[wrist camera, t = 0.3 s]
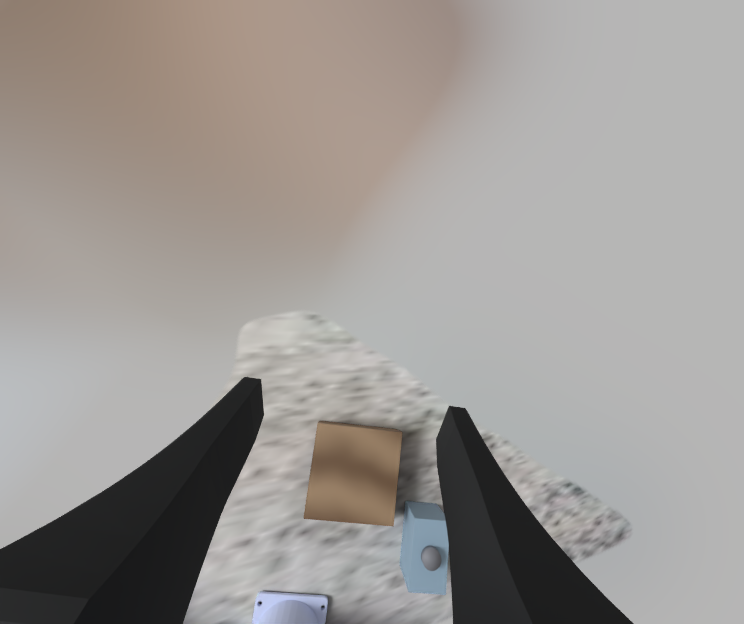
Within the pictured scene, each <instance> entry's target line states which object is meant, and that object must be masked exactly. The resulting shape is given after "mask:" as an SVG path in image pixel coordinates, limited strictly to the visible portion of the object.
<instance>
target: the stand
mask: <svg viewBox="0 0 744 624" xmlns="http://www.w3.org/2000/svg"><path fill="white" fill-rule="evenodd" d="M401 441H402V432H401V431H398V430H397V429H390V428H381V427H372V426H363V425H354V424H345V423H336V422H327V421H319V422H318V424H317V431H316V438H315V445H314V451H313V458H312V465H311V472H310V478H309V485H308V492H307V499H306V505H305V512H304V519H314V520H326V521H337V522H349V523H361V524H372V525H384V526H393V525H394V514H395V504H396V493H397V483H398V472H399V462H400V451H401Z"/></svg>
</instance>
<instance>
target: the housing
mask: <svg viewBox="0 0 744 624" xmlns="http://www.w3.org/2000/svg"><path fill="white" fill-rule="evenodd" d="M448 550H449V542H448V534H447V526H446V520H445V514H444V513H443V511H442V510H441V509H440V507H439V506H438V505H437V504H434V503H423V502H412V501H405V512H404V523H403V534H402V545H401V556H400V567H401V570H402V573H403V576H404V579H405V582H406V586H407V589H408V592H413V593H428V594H442V595H446V582H447V566H448Z"/></svg>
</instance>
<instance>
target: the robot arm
mask: <svg viewBox="0 0 744 624" xmlns="http://www.w3.org/2000/svg"><path fill="white" fill-rule="evenodd" d="M263 416H264V410H263V398H262V385H261V379H256V378H249V377H244V378H243V379H242V380H241V381H240V382H239V383H238V384H237V385H235V386H234V387H233V388H232V389H231V390H230V391H229V392H228V393H227V394H226V395H225V396H224V397H223V398H222V399H221V400H220V401H219V402H218V403H217V404H216V405H215V406H214V407H213V408H212V409H210V410H209V411H208V412H207V413H206V414H205V415H204V416H203V417H202V418H200V419H199V420H198V421H197V422H196V423H195V424H194V425H193V426H191V427H190V428H189V429H188V430H187V431H185V432H184V433H183V434H182V435H180V437H178V438H177V439H176V440H175V441H173V442H172V443H171V444H170V445H168V446H167V447H166V448H164V449H163V450H162V451H161V452H159V453H158V454H156V455H155V456H154V457H152V458H151V459H150V460H148V461H147V462H146V463H144V464H143V465H142V466H140V467H139V468H137V469H136V470H134V471H133V472H131V473H130V474H128V475H127V476H125V477H124V478H123V479H121V480H120V481H118V482H117V483H115V484H114V485H112V486H111V487H109V488H107V489H106V490H104V491H103V492H101V493H99V494H98V495H96V496H94V497H93V498H91V499H89V500H88V501H86V502H84V503H83V504H81V505H79V506H78V507H76V508H74V509H73V510H71V511H69V512H68V513H66V514H64V515H63V516H61V517H59V518H57V519H56V520H54V521H52V522H50V523H48V524H47V525H45V526H43V527H41V528H39V529H37V530H35V531H34V532H32V533H30V534H28V535H26V536H24V537H23V538H21V539H19V540H17V541H15V542H13V543H11V544H10V545H8V546H6V547H4V548H2V549H0V624H183V621H184V618H185V615H186V612H187V609H188V606H189V603H190V600H191V597H192V594H193V591H194V588H195V585H196V582H197V579H198V576H199V574H200V571H201V568H202V565H203V562H204V560H205V557H206V554H207V551H208V548H209V545H210V543H211V540H212V537H213V535H214V532H215V529H216V527H217V524H218V521H219V519H220V516H221V513H222V511H223V509H224V506H225V504H226V502H227V499H228V497H229V495H230V493H231V491H232V489H233V487H234V485H235V483H236V481H237V478H238V476H239V474H240V472H241V470H242V468H243V466H244V464H245V462H246V459H247V457H248V455H249V453H250V451H251V449H252V447H253V444H254V442H255V440H256V437H257V434H258V431H259V428H260V425H261V422H262V419H263ZM436 448H437V468H438V475H439V481H440V488H441V494H442V501H443V507H444V514H445V520H446V526H447V534H448V542H449V555H450V570H451V587H452V606H453V624H633V623H632V622H631V621H630V620H629V619H628V618H627V617H626V616H625V615H624V614H623V613H622V612H621V611H620V610H619V609H618V608H617V607H615V605H614V604H612V602H611V601H609V600H608V599H607V598H606V597H605V596H604V595H603V593H602V592H600V590H598V588H597V587H596V586H595V585H594V584H593V583H592V582H591V581H590V580H589V579H588V578H587V577H586V576H585V575H584V574H583V573H582V572H581V570H580V569H579V568H578V567H577V566H576V565H575V564H574V563H573V561H572V560H571V559H570V558H569V557H568V556H567V555H566V553H565V552H564V551H563V550H562V549H561V548H560V547H559V546H558V544H557V543H556V542H555V541H554V540H553V539H552V538H551V536H550V535H549V534H548V533H547V531H546V530H545V529H544V528H543V526H542V525H541V524H540V523H539V522H538V520H537V519H536V518H535V516H534V515H533V514H532V513H531V511H530V510H529V509H528V507H527V506H526V505H525V503H524V502H523V501H522V499H521V498H520V496H519V495H518V494H517V492H516V491H515V489H514V488H513V486H512V485H511V483H510V482H509V481H508V479H507V478H506V476H505V475H504V473H503V471H502V470H501V468H500V467H499V465H498V464H497V462H496V460H495V459H494V457H493V456H492V454H491V452H490V451H489V449H488V447H487V446H486V444H485V442H484V441H483V439H482V437H481V435H480V434H479V432H478V430H477V428H476V426H475V425H474V423H473V421H472V419H471V417H470V416H469V414H468V412H467V410H466V409H465V408H460V407H453V406H449V408H448V410H447V413H446V415H445V418H444V421H443V423H442V426H441V428H440V431H439V433H438V436H437V439H436ZM259 601H261V602H262V604H259V603H258V602H259ZM322 605H324V606H325V607H324V608H321V606H322ZM327 606H328V598H327V597H326V596H324V595H310V594H295V593H279V592H264V591H261V592H259V593H258V594H257V597H256V602H255V608H254V614H253V620H252V624H325V622H326V614H327Z"/></svg>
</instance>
